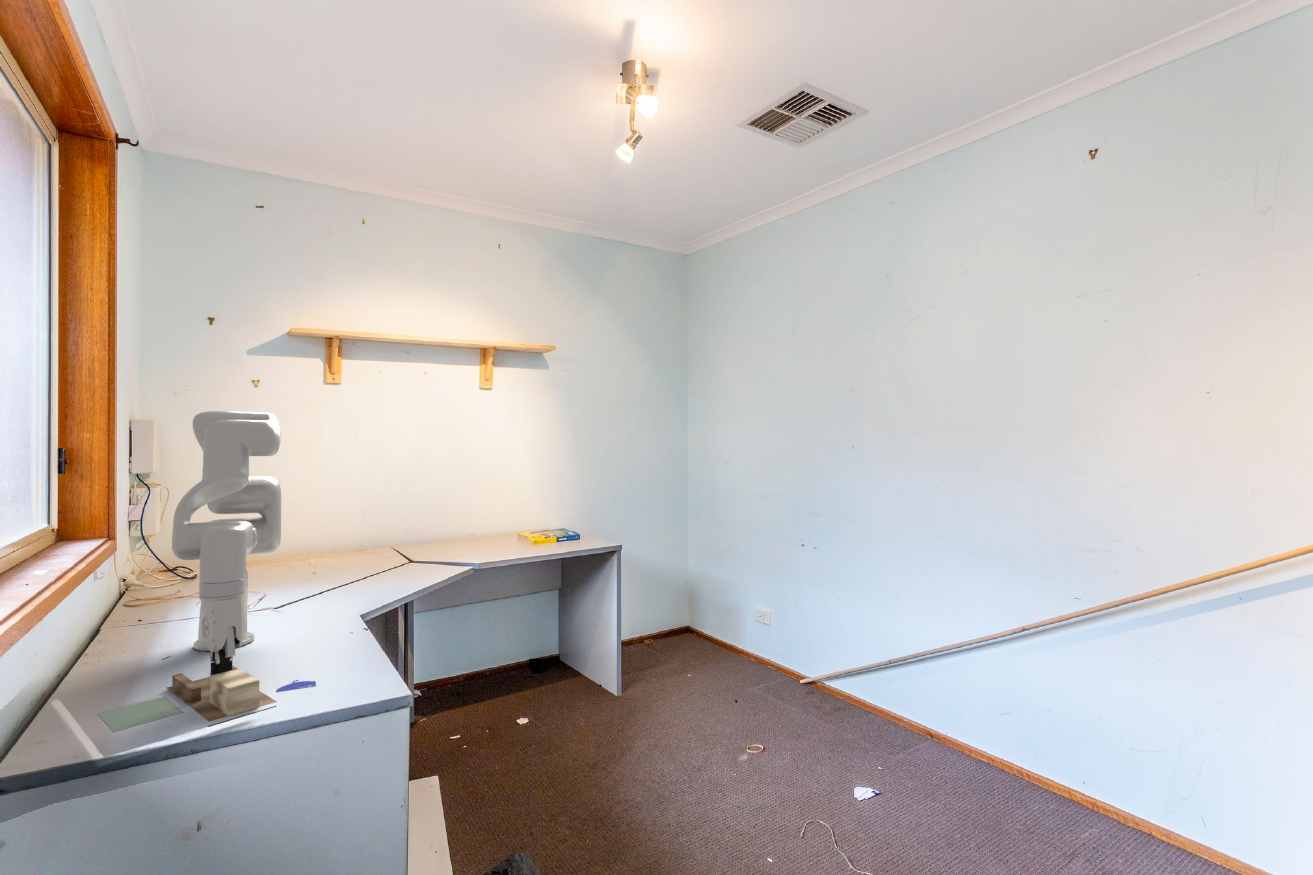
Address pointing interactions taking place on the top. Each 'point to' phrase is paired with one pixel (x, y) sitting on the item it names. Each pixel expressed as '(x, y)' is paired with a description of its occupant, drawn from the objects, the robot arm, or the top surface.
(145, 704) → the mat
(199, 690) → the holder
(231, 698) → the block
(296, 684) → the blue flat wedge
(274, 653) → the top surface
